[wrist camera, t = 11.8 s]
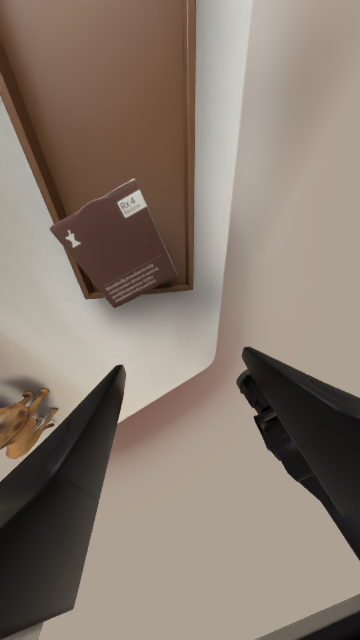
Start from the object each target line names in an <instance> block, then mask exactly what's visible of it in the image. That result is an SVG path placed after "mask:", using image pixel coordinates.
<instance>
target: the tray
mask: <svg viewBox="0 0 360 640" xmlns="http://www.w3.org/2000/svg"><path fill="white" fill-rule="evenodd" d="M195 60H196V0H0V96H1V98H2V101H3V103H4V105H5V108H6V110H7V113H8V115H9V117H10V120H11V122H12V124H13V127H14V129H15V132H16V134H17V136H18V139H19V141H20V144H21V146H22V148H23V151H24V153H25V156H26V158H27V160H28V163H29V165H30V168H31V170H32V172H33V175H34V177H35V180H36V182H37V184H38V187H39V189H40V192H41V194H42V196H43V199H44V201H45V204H46V206H47V208H48V211H49V213H50V216H51V218H52V220H53V223H54V224H56V223H57V222H59V221H60V220H63V219H65V218H66V217H68V216H70V215H72V214H73V213H75V212H77V211H79V210H80V209H82V207H83V206H84V205H86V204H87V203H89V202H91V201H93V200H95V199H99V198H101V197H103V196H104V195H106V194H108V193H110V192H111V191H113V190H115V189H116V188H118V187H119V186H121V185H123V184H125V183H127V182H128V181H130V180H132V179H136V180H137V182H138V184H139V187H140V189H141V191H142V194H143V196H144V198H145V200H146V203H147V205H148V207H149V210H150V212H151V214H152V216H153V219H154V221H155V223H156V226H157V228H158V230H159V233H160V235H161V237H162V240H163V242H164V244H165V246H166V249H167V251H168V253H169V255H170V257H171V260H172V262H173V264H174V267H175V270H176V272H177V276H176V277H174V278H172V279H171V280H169V281H167V282H165V283H163V284H161V285H159V286H157V287H155V288H153V289H152V290H150V291H148V292H146V293H144V294H153V293H164V292H176V291H187V290H193V258H194V159H195ZM63 247H64V246H63ZM64 249H65V248H64ZM65 251H66V254H67V256H68V259H69V261H70V263H71V266H72V268H73V271H74V273H75V275H76V278H77V280H78V283H79V285H80V287H81V290H82V292H83V295H84V297H85V299H96V298H105V296H104V295H103V294H102V293H101V291H100V290H99V289H98V288H97V287H96V285H95V284H94V283H93V282H92V280H91V279H90V278H89V277H88V275H87V274H86V273H85V272H84V271H83V269H82V268H81V267H80V266H79V264H78V263H77V262H76V261H75V260H74V258H73V257H72V256H71V255H70V254H69V252H68V251H67V250H66V249H65Z"/></svg>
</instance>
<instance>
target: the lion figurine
mask: <svg viewBox="0 0 360 640" xmlns="http://www.w3.org/2000/svg"><path fill="white" fill-rule="evenodd" d="M48 392H49V390H47V389H41V390H40V393H39V394H38V396H37V398H36V399H35V401H34V402H33V403H32V404H31V405H30V406H29V407H26V406H24V405H25V404H26V403H27V402H28V401H29V400H30V399H31V398H32V396H33V394H32V393H31V392H28V391H27V392H25V393H23V395H22V396H23V397H25V398H24V399H23V400H22V401H21V402H19V403H15V404H10V405H7V406H6V407H4V408H0V449H2V448H4V447H5V446H6V447H7V451H6V456H7V457H9V458H12V459H16V458H18V457H21V456H23V455H24V454H26V453H27V452H28V451H29V450H30V449H31V448H32V447H33V446H34V444H35V443H36V442H37V440H38V439H39V437H40V435H41V434H42V432H43V431H44V430H45V429H47V428H50V427H53V426H54V424H53V423H52V424H48V425H47V423H49V421H50V420H51V418H52V417H53V415H54V414H55V413H56V412H57V409H51V410H50V413H49V416H48V417H47V419H46V420H45V421H44V423H43V424H42V425H41V426H40V427H39V428H38V429H37V427H38V426H39V425H40V424H41V423H42V421H43V417H37V418H36V420H35V418H34V417H33V414H34V413H35V411H36V409H37V408H38V406H39V405H40V403H41V401H42V400H43V398H44V397H45V396H46V395H47V393H48ZM46 425H47V426H46ZM36 429H37V430H36ZM35 430H36V431H35ZM34 431H35V432H34ZM33 432H34V433H33Z"/></svg>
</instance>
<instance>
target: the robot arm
mask: <svg viewBox="0 0 360 640" xmlns="http://www.w3.org/2000/svg"><path fill="white" fill-rule="evenodd" d="M242 358H243V361H244V362H245V364H246V366H247V368H248V370H249V372H250V374H247V375H245V377H244V380H243V384H242V387H241V390H240V392H241V394H244V396H245V397H246V399H247V400H248V402H249V404H250V405H251V407H252V408H255V410H256V411H257V413H258V415H257V416H254V419H255V423H256V425H257V427H258V429H259V430H260V433H261V435H262V437H263V440H264V442H265V445H266V447H267V449H268V450H270V451H271V452H272V453H273V454H274V456H275V457H276V458H277V459H278V460H279V461H281V462H282V464H283V465H284V467H285V469H286V471H287V472H288V474H289V475H291V476H292V477H293V478H294V479H295V480H296V481H297V482H299V483H300V484H301V485H303V486H304V487H305V488H306V489H307V490H308V491H309V492H311V493H312V494H313V495H314V496H315V497H316V498H317V499H319V500H320V502H322V504H323V505H324V507H325V508H326V510H327V511H328V513H329V515H330V516H331V518H332V519H333V521H334V522H335V523H336V525H337V527H338V528H339V530H340V531H341V533H342V534H343V536H344V537H345V539H346V541H347V542H348V544H349V545H350V547H351V548H352V549H353V551H354V553H355V554H356V556H357V557H358V559H359V560H360V398H359V397H356V396H354V395H352V394H349V393H347V392H345V391H343V390H340V389H338V388H335V387H333V386H331V385H329V384H326V383H324V382H322V381H319V380H318V379H316V378H314V377H312V376H310V375H307V374H305V373H303V372H301V371H299V370H297V369H295V368H293V367H291V366H289V365H286V364H285V363H282V362H280V361H278V360H276V359H274V358H272V357H270V356H268V355H266V354H264V353H262V352H260V351H258V350H256V349H253V348H251V347H244V349H243V352H242ZM125 379H126V372H125V369H124V366H123V365H116V366H115V367H114V368H113V369H112V370H111V371H110V372H109V373H108V374H107V376H106V377H105V378H104V379H103V380H102V381H101V382H100V383H99V384H98V385H97V386H96V387H95V388H94V389H93V390H92V391H91V392H90V393H89V394H88V395H87V397H86V398H85V399H84V400H83V401H82V402H81V403H80V404H79V405H78V406H77V407H76V408H75V409H74V410H73V411H72V412H71V413H70V414H69V416H68V417H66V419H65V420H64V421H63V422H62V423H61V424H60V425H59V426H58V427H57V428H56V429H55V430H54V431H53V432H52V433H51V434H50V435H49V436H48V437H47V438H46V439H45V440H44V441H43V442H42V443H41V444H40V445H39V446H38V447H37V448H36V449H35V450H34V451H32V452H31V454H29V455H28V456H27V457H26V458H25V459H24V460H23V461H22V462H21V463H20V464H19V465H18V466H17V467H16V468H15V469H13V470H12V471H11V472H10V473H9V474H8V475H7V476H6V477H5V478H4V479H3V480H2V481H1V482H0V640H38V638H39V635H40V632H41V629H42V625H43V622H44V621H47V620H49V619H51V618H54V617H56V616H58V615H61V614H63V613H66V612H68V611H70V610H72V609H73V608H74V605H75V600H76V597H77V593H78V589H79V584H80V580H81V575H82V572H83V567H84V563H85V559H86V554H87V550H88V546H89V542H90V537H91V533H92V529H93V525H94V521H95V516H96V512H97V508H98V504H99V498H100V494H101V490H102V486H103V482H104V478H105V473H106V469H107V465H108V461H109V456H110V452H111V448H112V444H113V439H114V435H115V431H116V427H117V422H118V418H119V414H120V410H121V405H122V401H123V395H124V387H125ZM256 640H360V594H359V595H356V596H354V597H352V598H349V599H347V600H345V601H343V602H340V603H338V604H336V605H333V606H331V607H329V608H327V609H324V610H322V611H320V612H317V613H315V614H313V615H310V616H308V617H306V618H304V619H301V620H299V621H297V622H295V623H292V624H290V625H288V626H285V627H283V628H281V629H278V630H276V631H274V632H272V633H269V634H267V635H265V636H262V637H260V638H258V639H256Z"/></svg>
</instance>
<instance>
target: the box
mask: <svg viewBox="0 0 360 640" xmlns="http://www.w3.org/2000/svg"><path fill="white" fill-rule="evenodd" d="M50 230H51V232H52V233H53V234H54V235H55V237H56V238H57V239H58V240H59V242H60V243H61V244H62V245H63V246H64V248H65V249H66V250H67V251H68V252H69V254H70V255H71V256H72V257H73V258H74V260H75V261H76V262H77V263H78V264H79V266H80V267H81V268H82V269H83V271H84V272H85V273H86V274H87V275H88V277H89V278H90V279H91V280H92V282H93V283H94V284H95V285H96V287H97V288H98V289H99V290H100V291H101V293H102V294H103V295H104V296H105V298H106V299H107V300H108V301H109V302H110V304H111V305H112V306H113V307H114V308H115V307H118V306H120V305H122V304H124V303H126V302H128V301H130V300H132V299H134V298H136V297H138V296H140V295H142V294H144V293H146V292H148V291H150V290H152V289H153V288H155V287H157V286H159V285H161V284H163V283H165V282H167V281H169V280H171V279H172V278H174V277H176V276H177V272H176V270H175V267H174V264H173V262H172V260H171V257H170V255H169V253H168V251H167V249H166V246H165V244H164V242H163V240H162V237H161V235H160V233H159V230H158V228H157V226H156V223H155V221H154V219H153V216H152V214H151V212H150V210H149V207H148V205H147V203H146V200H145V198H144V196H143V194H142V191H141V189H140V187H139V184H138V182H137V180H136V179H132V180H130V181H128V182H127V183H125V184H123V185H121V186H119V187H118V188H116V189H115V190H113V191H111V192H110V193H108V194H106V195H104V196H103V197H101V198H99V199H95V200H93V201H91V202H89V203H87V204H86V205H84V206H83V207H82V209H80V210H79V211H77V212H75V213H73V214H72V215H70V216H68V217H66V218H65V219H63V220H60V221H59V222H57V223H56V224H54V225H52V226H51V227H50Z"/></svg>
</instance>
